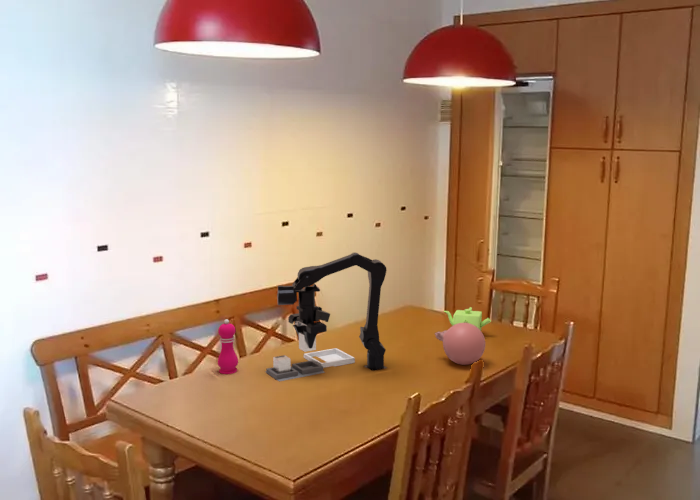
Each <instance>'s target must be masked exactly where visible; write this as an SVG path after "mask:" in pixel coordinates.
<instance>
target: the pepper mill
mask: <svg viewBox="0 0 700 500" xmlns="http://www.w3.org/2000/svg"><path fill="white" fill-rule="evenodd" d="M217 332H218V335H219V336H220V337H219V342H220V343H221V349H220V353H219V355H218V357H217V366H218V367H219V370H218V372H219V373H220V374H222V375H232V374H235V373H237V372H238V367H237V366H238V364H239V359H238V355H237V354H236V351H235V349H234V342H235V334H236V327H235V326H234V324H233V323H230V320H229V319H224V320H223V323H222V324H221V325H220V326H219V327H218V331H217Z"/></svg>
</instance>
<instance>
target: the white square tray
mask: <svg viewBox="0 0 700 500" xmlns="http://www.w3.org/2000/svg"><path fill="white" fill-rule="evenodd" d="M314 357H317V358H319V359H320V360H322V361H324V362H321V361H319V360H318V359H316V358H314ZM303 359H305V360H306V361H311V360H313V361H315V362H316V363H318V364H320V365H322V366H323V369H324V368H330V367H340V366H345V365H351V364H355V363H356V358H355V357H354V356H352V355H350V354H349V353H346V352H345V351H343V350H341V349H339V348H337V347H336V348H330V349H329V348H328V349H324V350H323V349H322V350H319V351H310V352H304V353H303Z"/></svg>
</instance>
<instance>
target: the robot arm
mask: <svg viewBox="0 0 700 500" xmlns="http://www.w3.org/2000/svg"><path fill="white" fill-rule="evenodd" d="M354 266H357V267H359V268H361V269H363V270H365V271H367V278H368V283H369V286H368V298H367V309H366V319H365V320H366V321H365V324H364V325H363V326H360V327H359V330H360V333H359V336H358V337H359V339H360V341H361V343H362V345H363V347H364V348H365V350H367V352H366V353H367V354H366V358H367V359H366V365H364V366H363V368H366V369H368V370H369V371H373V372H375V371H379V370H380V371H381V370H384V369H388V367H387V366H385V363H384V361H385V354H386V351H387V349H386V348H385V347H384V345H383V343H382V342H381V341H380V332H379V327H378V323H379V313H380V304H381V303H380V301H381V300H380V299H381V289H382V285H383V284H384V281H385V278H386V276H387V275H386V274H387V271H388V270H387V266H386V265H385V264H384V263H383V262H382V261H381V260H380V259H370V258H369V257H367V256H364V255H362V254H359V253H358V252H352V253H350V254H348V255H344V256H342V257H340V258H337V259H335V260H331V261H329V262H326V263H323V264H319V265H310V266H305V267H301V268H300V269H299V270H298V272H297V277H296V279H295V280H294V281H293V283H292V284H291V285H277V293H276V298H277V299H276V300H277V306H291V305H295V304H296V302H297V301H298V305H296V310H298V313H292V314H290V315H288V323H289V324H291V325H292V327H293V328H294V330H295V331H296V334H297V336H298V337H299V332H304V334H305V337H306V341H307V344H308V346H309V348H312V347H313V344H314V341H315V338H316V339H317V335H318V334H319V333H326V332H327V329H328V328H327V327H328V326H327V325H326V324H325V323H324V322H326V323H329V320H330V317H331V313H330V312H327V311H325V310H323V308H322V307H321V306H318V305H317V306H316V298H315V296H316V293H317V292H321V289H320V287H318V286H317V285H316V284H317V283H318V282H319V281H321V280H322V279H323V278H325V277H327V276H331V275H333V274H336V273H338V272H341V271H344V270H346V269H349V268H353V267H354ZM321 321H324V322H321Z"/></svg>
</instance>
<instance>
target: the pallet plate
mask: <svg viewBox="0 0 700 500" xmlns="http://www.w3.org/2000/svg"><path fill="white" fill-rule="evenodd" d="M264 372H265V374H267V375H268V376H270V377H272V378H273V379H274V380H275V381H278V382H283V381H288V380H294V379H298V378H304V377H309V376H314V375H315V376H316V375H320V374H325V373H326V372H325V371H324V368H323V366H322V365H320V364H318V363H316V362H315V361H313V360H311V361H308V360H306V361H302V362H301V361H300V362H296V363H295V362H294V363H291V372H286V373H281V374H277V373H275V372H274V368H273V367H268V368H266V371H265V370H264Z"/></svg>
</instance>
